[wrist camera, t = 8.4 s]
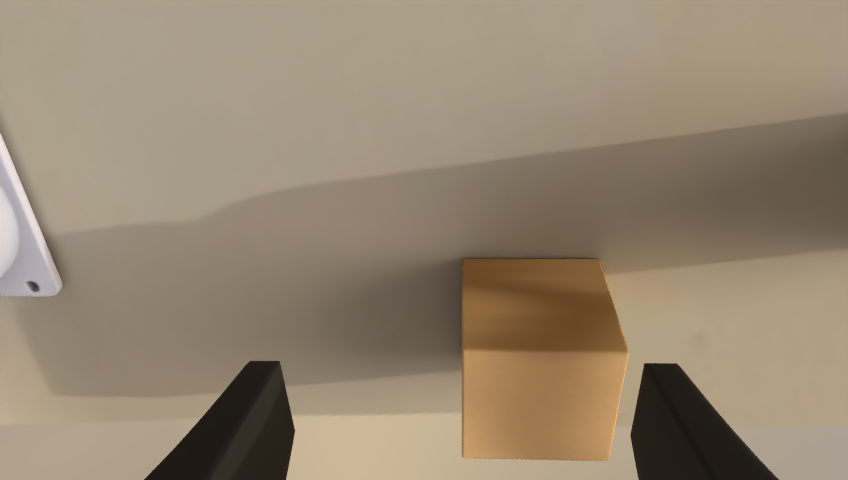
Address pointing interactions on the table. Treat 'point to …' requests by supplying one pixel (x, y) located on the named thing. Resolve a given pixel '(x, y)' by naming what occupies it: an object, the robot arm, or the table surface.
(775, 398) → the table surface
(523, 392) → the block
